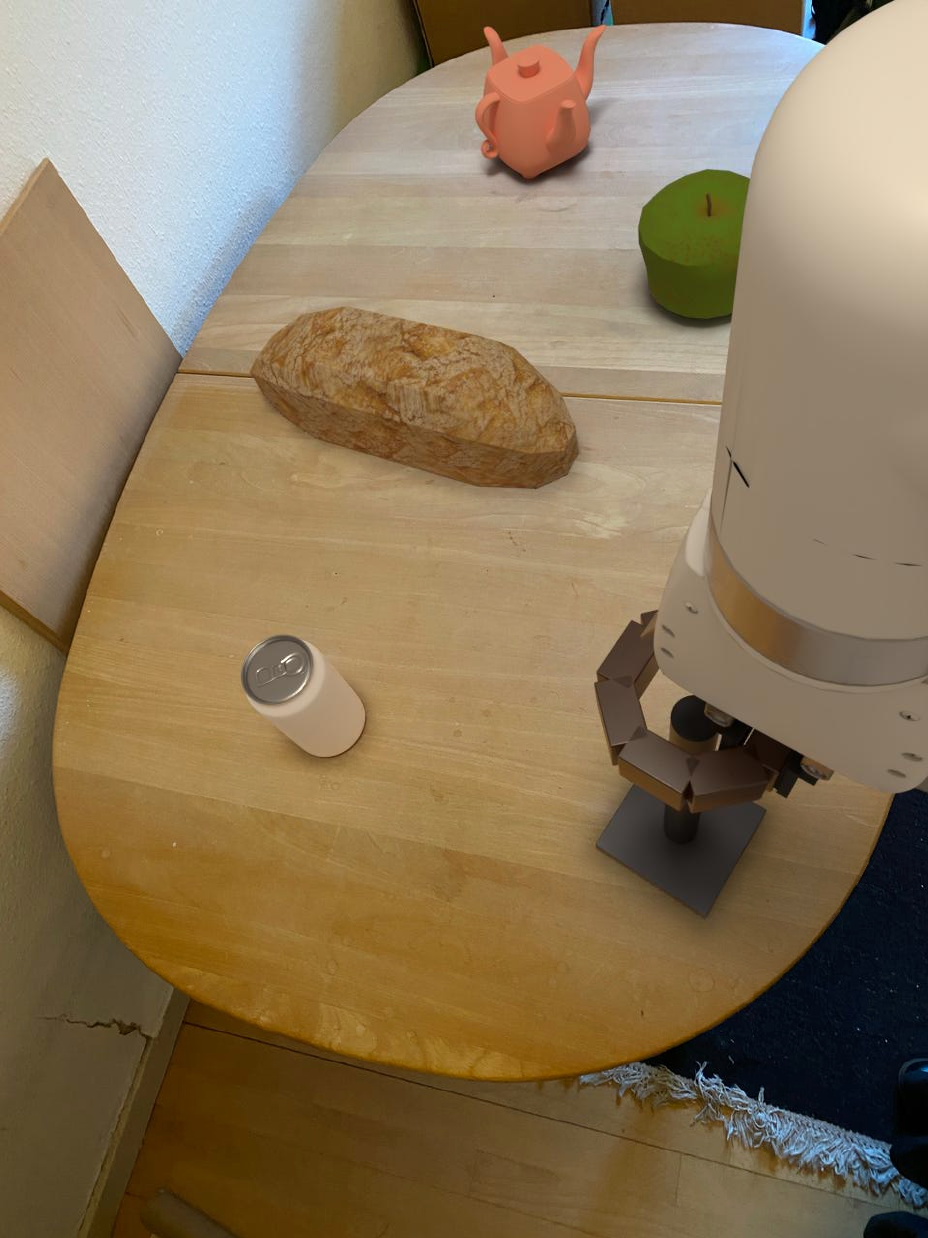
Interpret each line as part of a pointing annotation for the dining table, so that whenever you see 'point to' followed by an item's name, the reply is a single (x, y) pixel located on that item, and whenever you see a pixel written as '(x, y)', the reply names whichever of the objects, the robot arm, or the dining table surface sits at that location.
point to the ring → (663, 762)
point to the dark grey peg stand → (681, 827)
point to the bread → (419, 397)
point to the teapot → (535, 105)
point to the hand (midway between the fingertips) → (767, 750)
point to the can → (302, 695)
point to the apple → (695, 242)
